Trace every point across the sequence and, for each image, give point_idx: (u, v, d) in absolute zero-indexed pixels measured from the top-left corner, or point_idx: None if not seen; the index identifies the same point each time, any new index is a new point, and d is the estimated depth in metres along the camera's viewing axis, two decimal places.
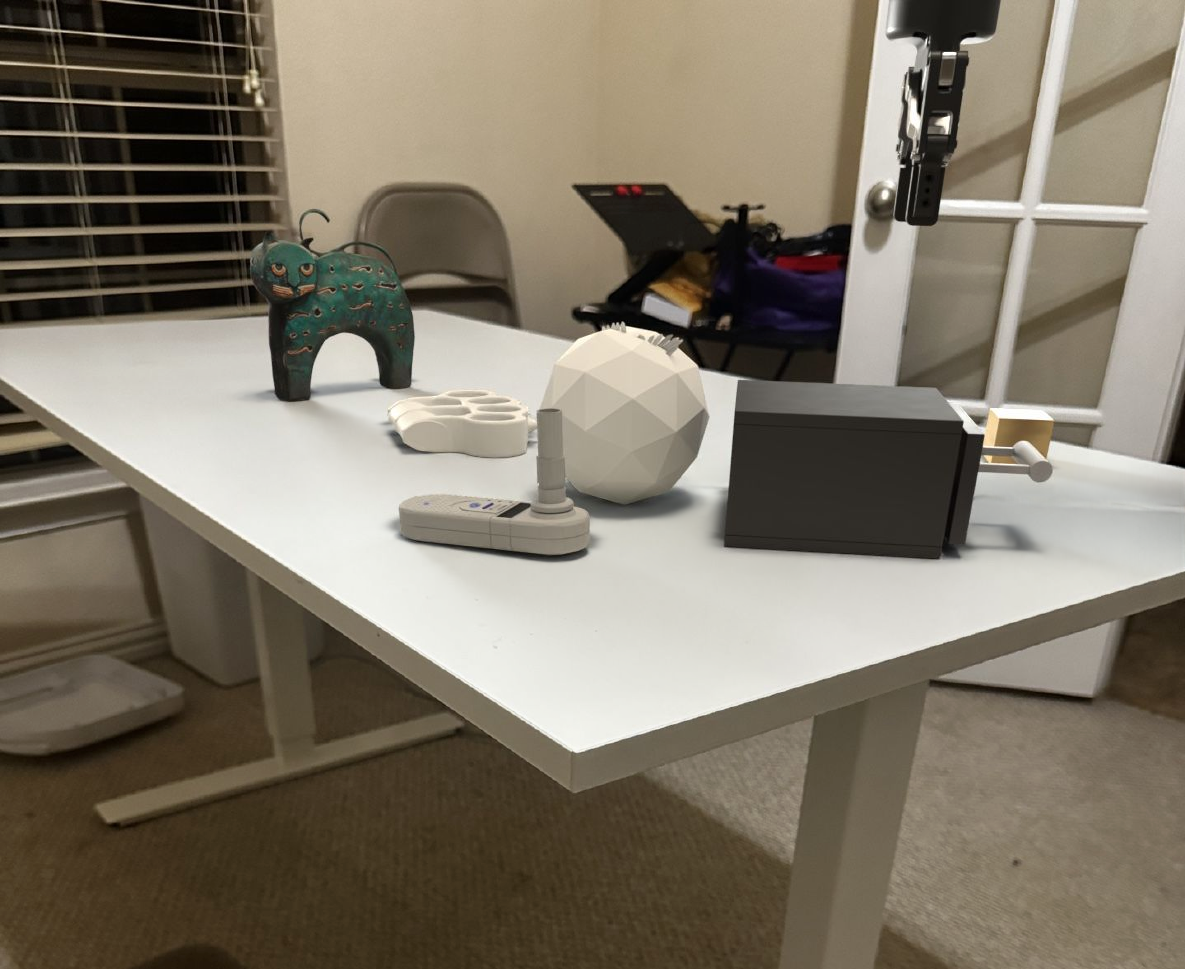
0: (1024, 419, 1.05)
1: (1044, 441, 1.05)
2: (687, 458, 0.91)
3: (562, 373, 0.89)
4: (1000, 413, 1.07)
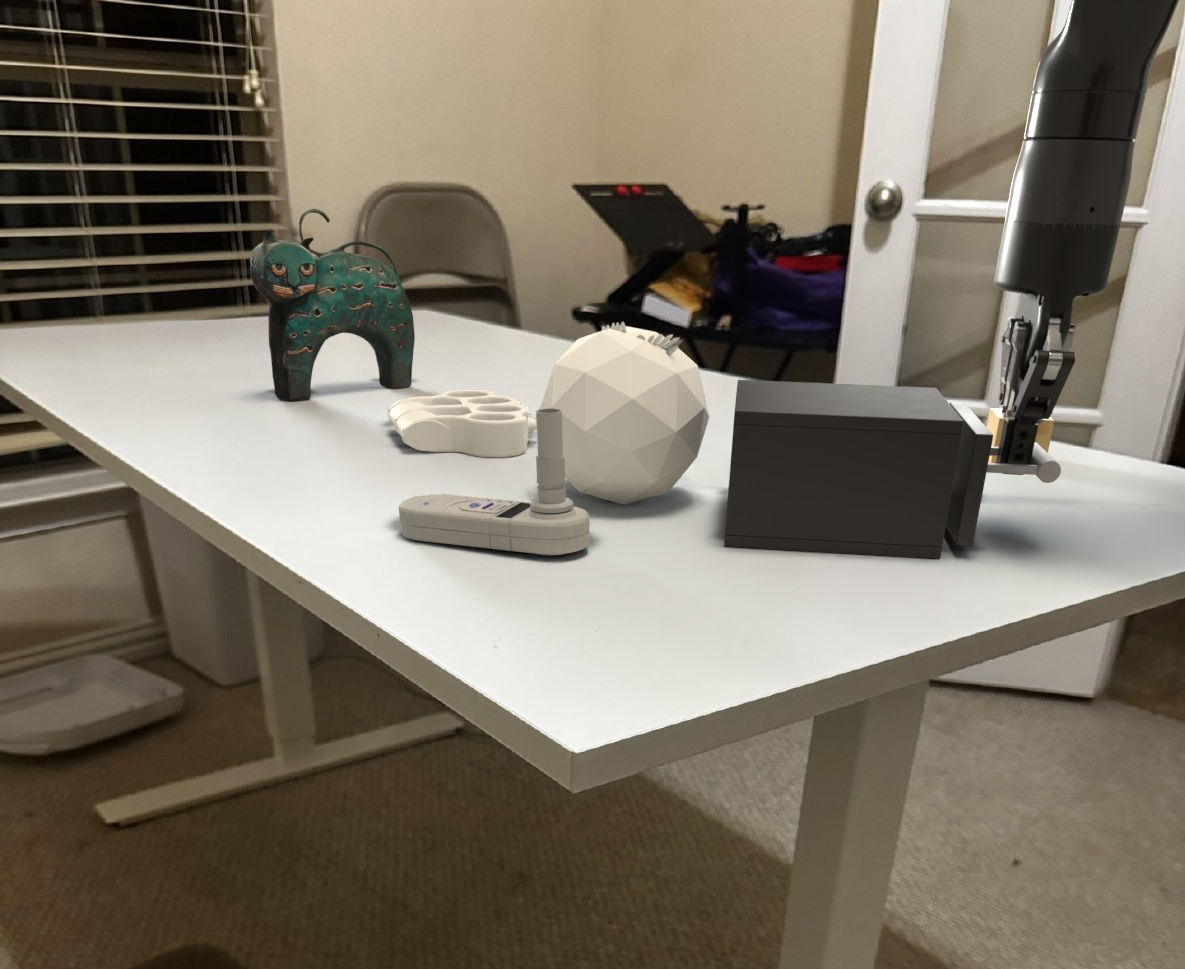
0: None
1: (1044, 441, 1.05)
2: (687, 458, 0.91)
3: (562, 373, 0.89)
4: (1000, 413, 1.07)
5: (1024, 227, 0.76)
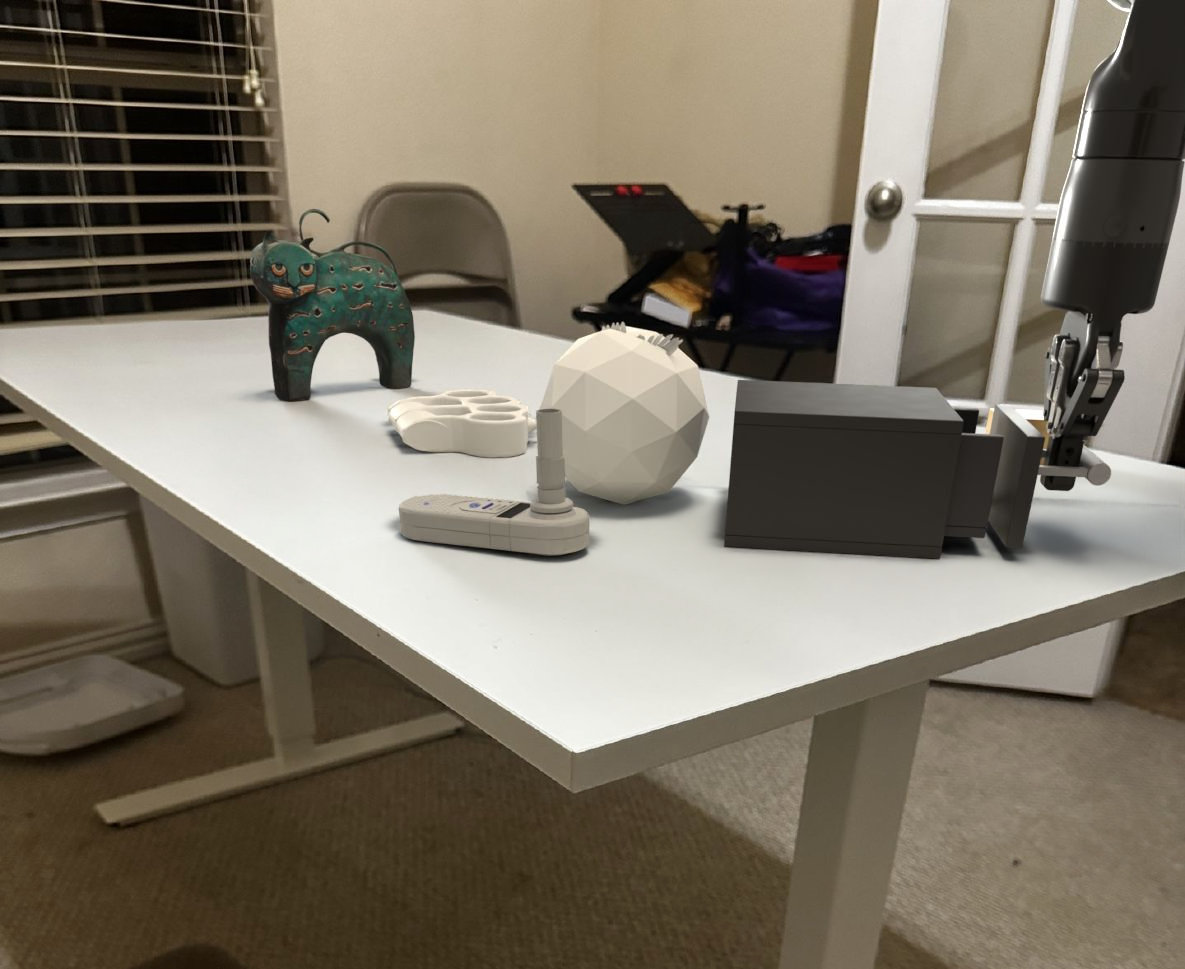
0: None
1: None
2: (687, 458, 0.91)
3: (562, 373, 0.89)
4: None
5: (1073, 246, 0.76)
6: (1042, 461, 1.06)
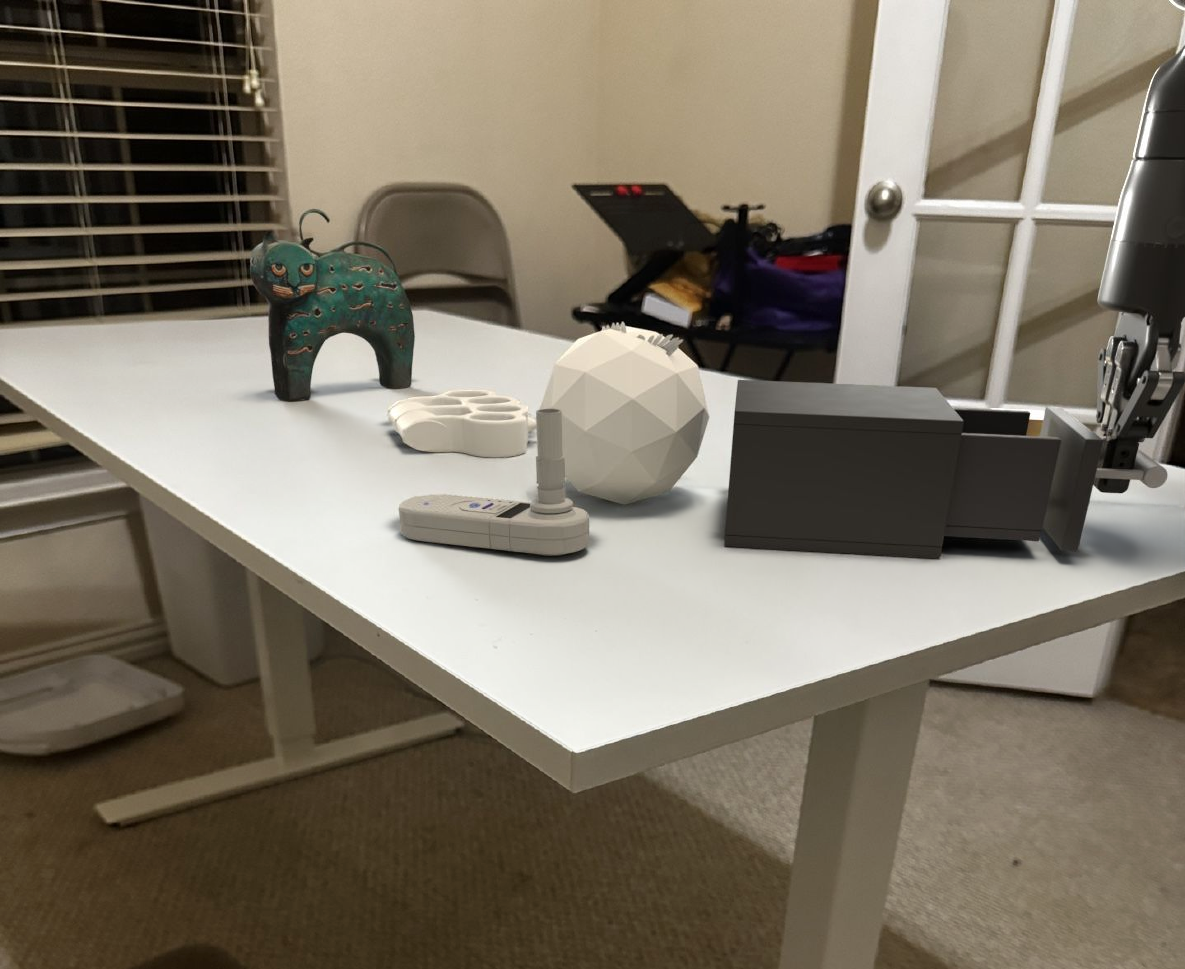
0: None
1: None
2: (687, 458, 0.91)
3: (562, 373, 0.89)
4: None
5: (1134, 247, 0.75)
6: None
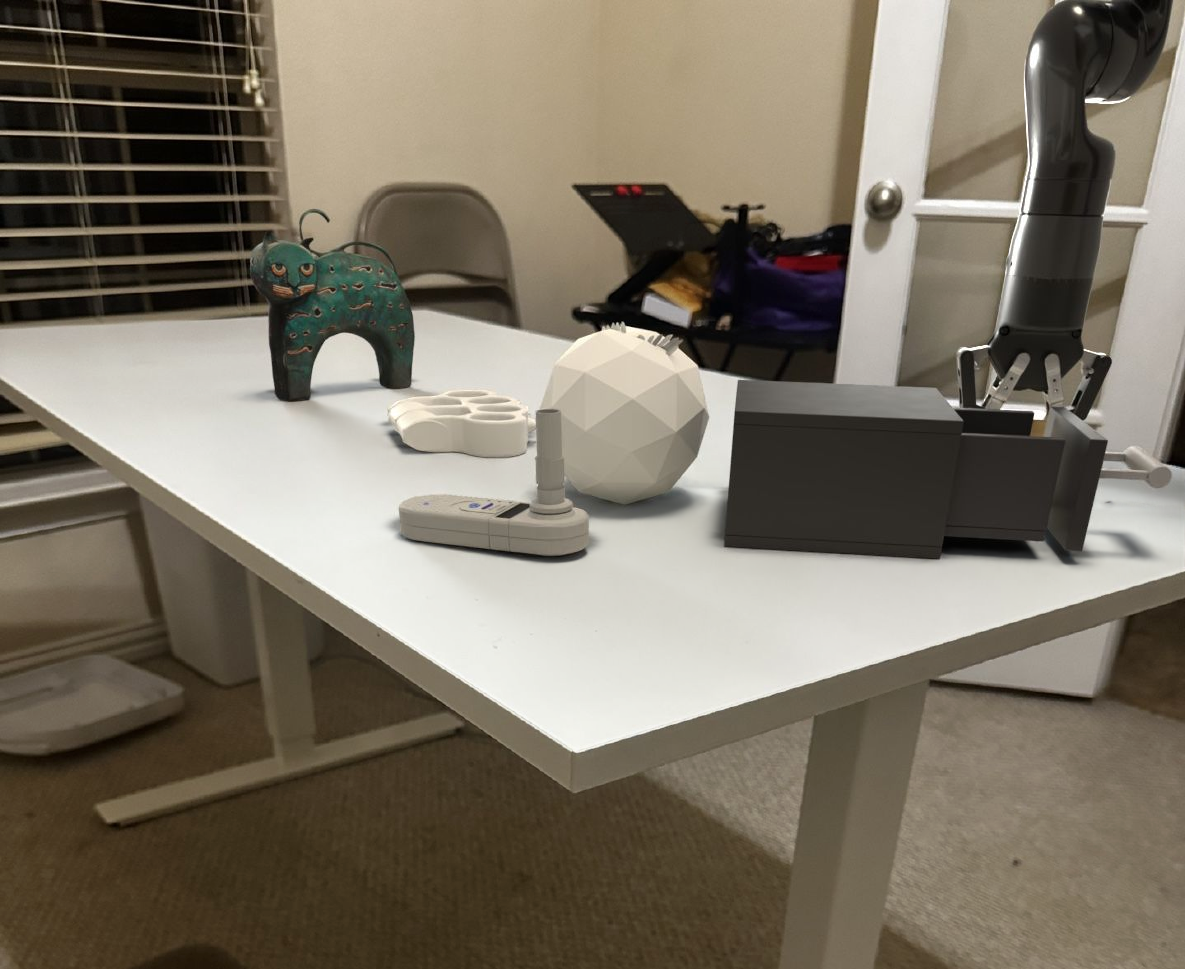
0: None
1: None
2: (687, 458, 0.91)
3: (562, 373, 0.89)
4: None
5: None
6: None
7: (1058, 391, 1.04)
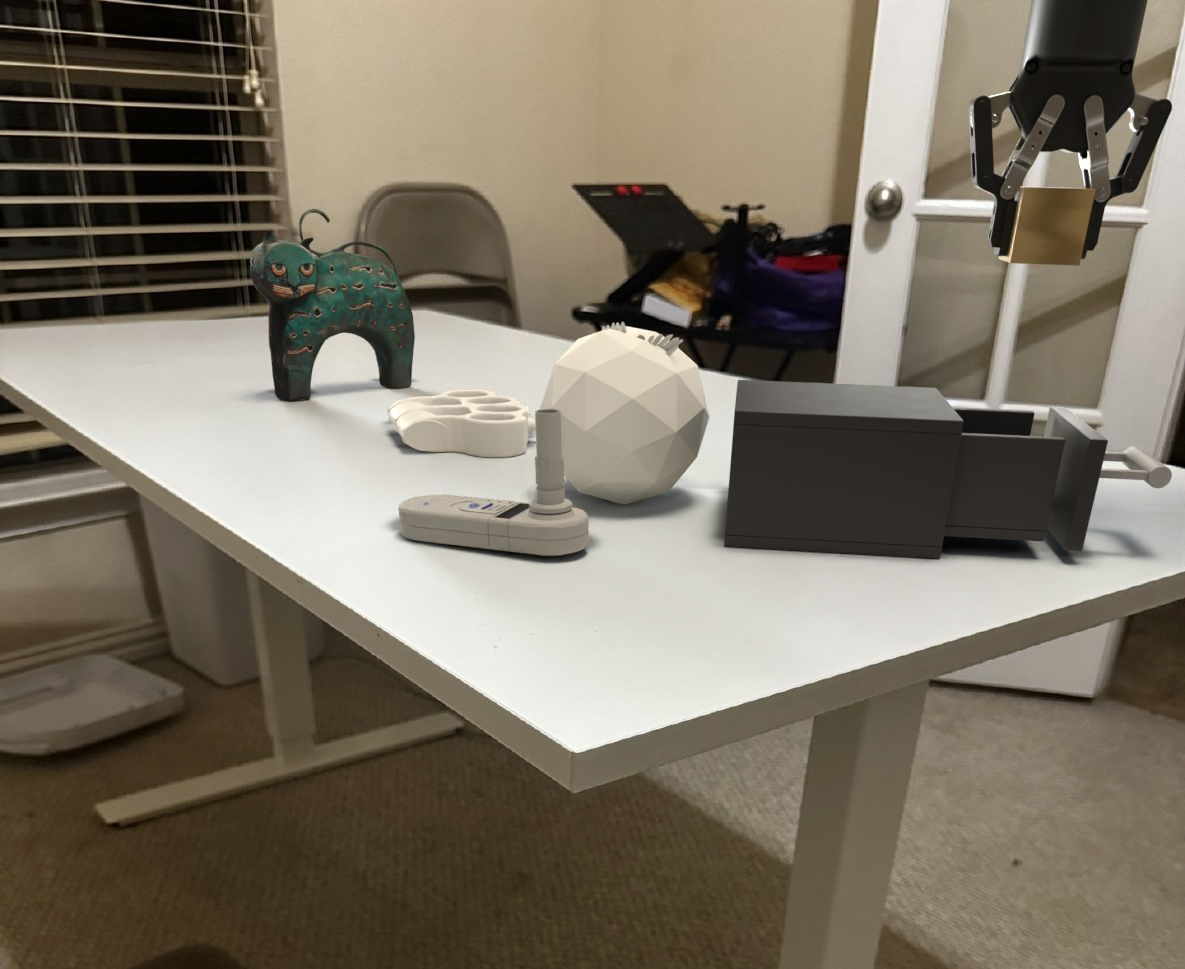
0: (1056, 188, 0.81)
1: (1082, 218, 0.81)
2: (687, 458, 0.91)
3: (562, 373, 0.89)
4: None
5: None
6: (1078, 247, 0.82)
7: (1101, 149, 0.80)
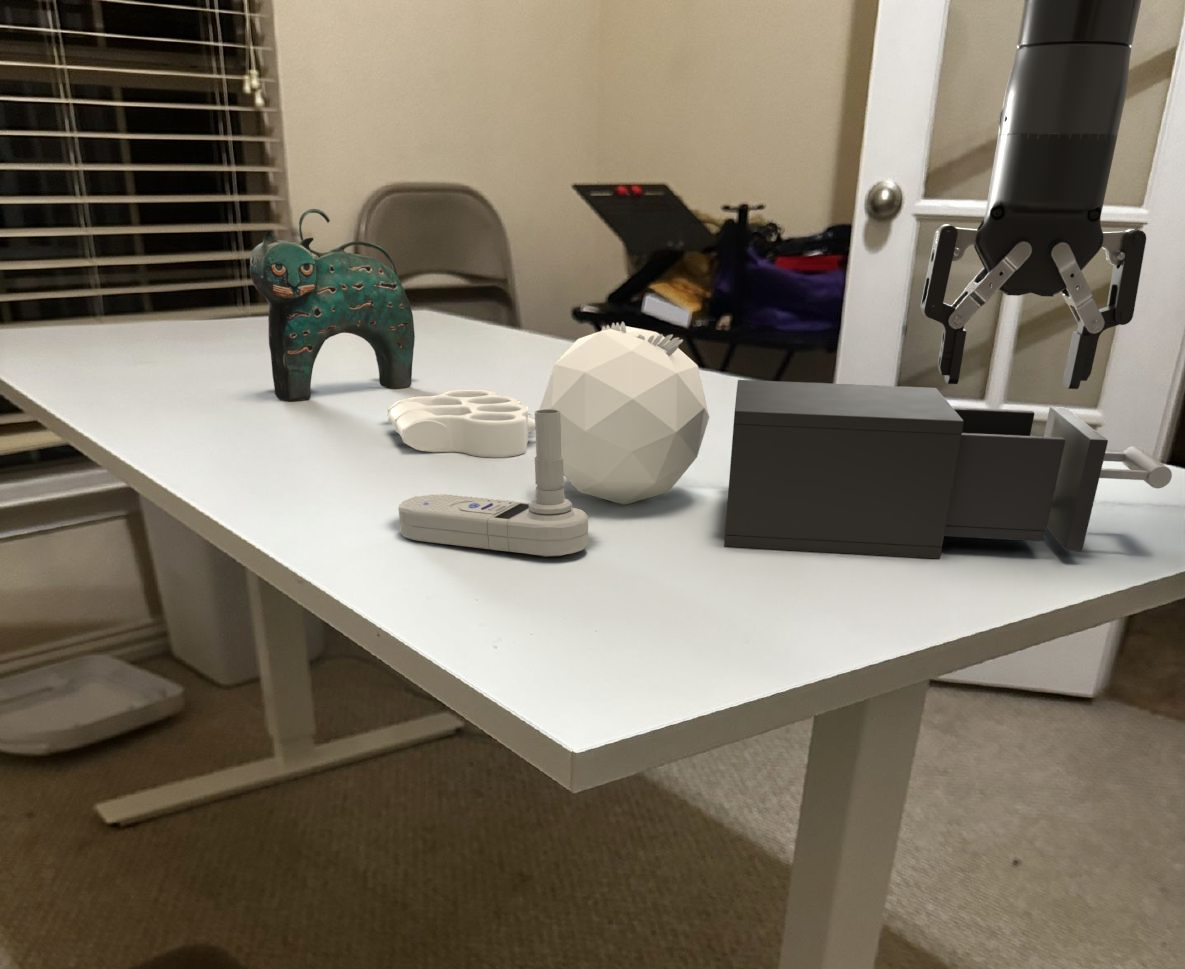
0: None
1: None
2: (687, 458, 0.91)
3: (562, 373, 0.89)
4: None
5: None
6: None
7: (1082, 288, 0.78)
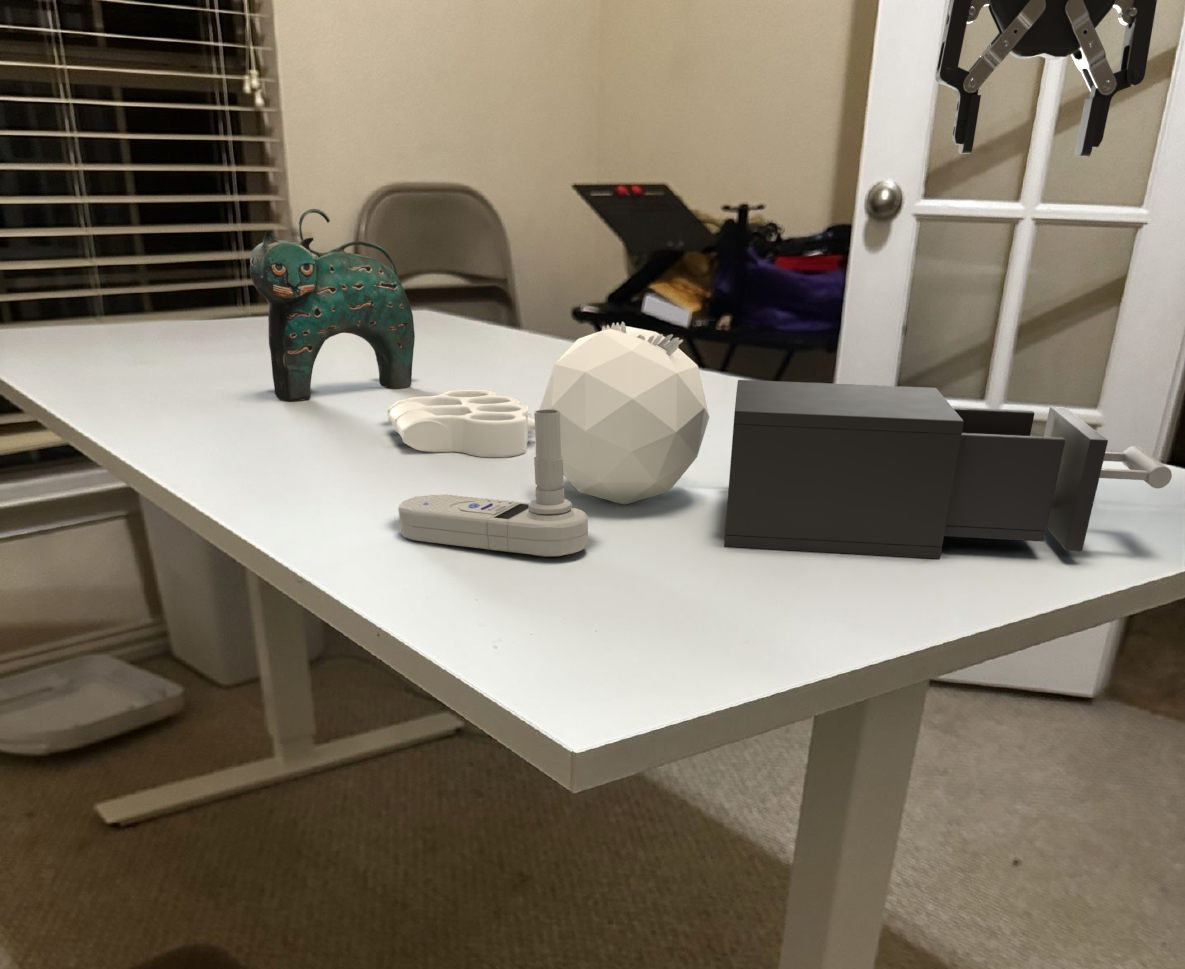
0: None
1: None
2: (687, 458, 0.91)
3: (562, 373, 0.89)
4: None
5: None
6: None
7: (1094, 45, 0.79)
